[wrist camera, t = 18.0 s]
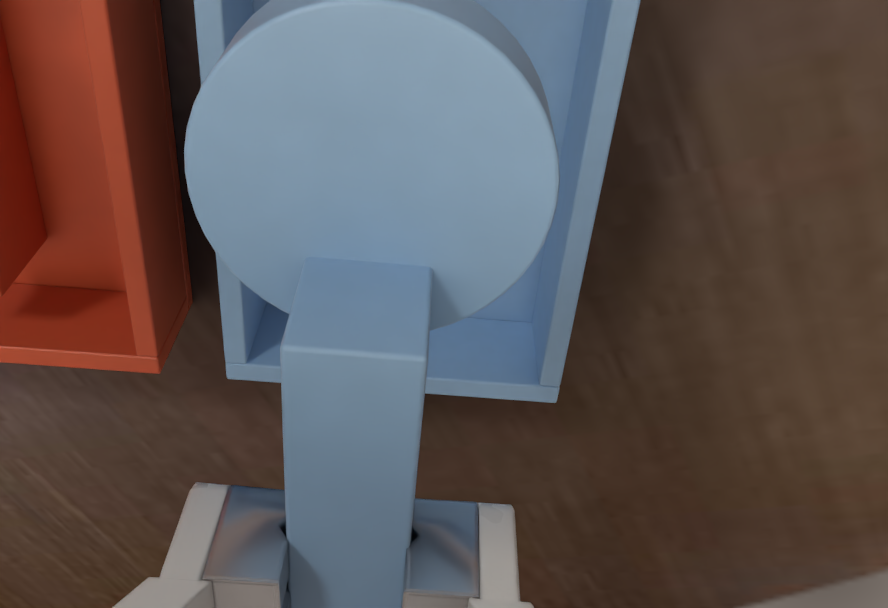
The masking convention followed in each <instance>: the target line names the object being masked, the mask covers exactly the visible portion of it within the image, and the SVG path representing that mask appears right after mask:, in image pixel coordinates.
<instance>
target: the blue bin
mask: <svg viewBox="0 0 888 608" xmlns="http://www.w3.org/2000/svg"><path fill="white" fill-rule="evenodd" d="M269 1H270V0H194V10H195V22H196V33H197V44H198V56H199V67H200V79H201V86H202V84H203V82H204V81H205V79H206V78H207V76H208V75H209V73H210V72H211V70H212V69H213V67H214V66H215V64H216V63H217V61H218V60H219V58H220V57H221V55H222V54H223V52H224V51H225V49H226V48H227V46H228V45H229V43H230V42H231V40H232V39H233V37H234V36H235V34H236V33H237V32H238V30H239V29H240V28H241V27H242V26H243V25H244V24H245V23H246V22H247V21H248V19H249V18H250V17H251V16H252V15H253V14H254V13H256V12H257V11H258V10H259V9H260V8H262V7H263V6H264V5H265V4H266V3H268V2H269ZM473 1H475V2H476V3H478V4H480V5H481V6H483V7H484V8H485V9H486V10H487V11H488V12H490V13H491V14H492V15H493V16H494V17H496V18H497V19H498V20H499V21H500V22H501V23H502V24H503V25H504V26H505V27H506V28H507V29H508V30H509V31H510V33H511V34H512V35H513V36H514V37H515V38H516V39H517V40H518V42H519V43H520V45H521V46H522V48H523V49H524V51H525V52H526V54H527V55H528V56H529V58H530V60H531V62H532V64H533V66H534V68H535V70H536V72H537V74H538V76H539V78H540V80H541V83H542V86H543V89H544V92H545V95H546V98H547V101H548V106H549V111H550V116H551V121H552V125H553V130H554V135H555V140H556V146H557V151H558V157H559V174H560V184H559V193H558V202H557V207H556V211H555V214H554V218H553V222H552V225H551V228H550V230H549V232H548V235H547V237H546V239H545V242H544V244H543V246H542V247H541V249H540V251H539V252H538V254H537V256H536V257H535V259H534V261H533V262H532V264H531V265H530V266H529V267H528V269H527V270H526V271H525V272H524V274H523V275H522V276H521V277H520V279H519V280H518V281H517V282H516V283H515V284H514V285H512V286H511V287H510V288H509V289H508V290H507V291H506V292H505V293H504V294H503V295H502V296H500V297H499V298H498V299H496V300H495V301H494V302H492V303H491V304H489V305H488V306H487V307H485V308H483V309H481V310H480V311H478V312H476V313H474V314H473V315H471V316H469V317H467V318H464V319H462V320H460V321H457V322H455V323H453V324H450V325H447V326H444V327H441V328H437V329H434V330H431V331H430V334H429V352H428V366H427V376H426V386H425V393H426V394H439V395H453V396H467V397H480V398H494V399H507V400H521V401H535V402H548V403H556V401H557V398H558V393H559V389H560V388H559V386H560V384H561V379H562V374H563V369H564V365H565V360H566V355H567V350H568V345H569V341H570V336H571V331H572V326H573V322H574V317H575V312H576V307H577V302H578V298H579V293H580V288H581V283H582V279H583V274H584V269H585V264H586V259H587V255H588V250H589V245H590V240H591V235H592V231H593V226H594V221H595V216H596V212H597V207H598V202H599V197H600V192H601V188H602V183H603V178H604V173H605V169H606V164H607V159H608V154H609V149H610V145H611V140H612V135H613V130H614V125H615V121H616V116H617V111H618V106H619V102H620V97H621V92H622V87H623V82H624V78H625V73H626V68H627V63H628V59H629V54H630V49H631V44H632V39H633V35H634V30H635V25H636V20H637V16H638V11H639V6H640V1H641V0H473ZM216 262H217V274H218V285H219V297H220V308H221V320H222V331H223V343H224V354H225V361H226V363H225V364H226V375H227V378H228V379H235V380H249V381H262V382H276V383H281V362H280V346H281V342H282V339H283V335H284V332H285V328H286V325H287V321H288V318H289V314H288V313H286V312H284V311H282V310H280V309H278V308H277V307H275V306H274V305H272V304H270V303H269V302H267V301H265V300H264V299H262V298H261V297H260V296H259V295H257V294H256V293H255V292H253V291H252V290H251V289H249V288H248V287H247V286H246V285H245V284H244V283H243V282H242V281H241V280H240V279H238V278H237V277H236V276H235V275H234V274H233V273H232V272H231V271H230V270H229V268H228V267H227V266H226V265H225V263H224V262H223V261H222V260H221V259H220V257H219V256H218V255H217V254H216Z"/></svg>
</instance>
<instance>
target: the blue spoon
mask: <svg viewBox="0 0 888 608" xmlns="http://www.w3.org/2000/svg"><path fill="white" fill-rule="evenodd" d="M184 162H185V176H186V181H187V187H188V193H189V196H190V199H191V203H192V206H193V209H194V212H195V215H196V217H197V220H198V222H199V224H200V226H201V228H202V230H203V232H204V234H205V236H206V238H207V239H208V241H209V243H210V244H211V246H212V247H213V249H214V250H215V252H216V254H217V255H218V256H219V257H220V259H221V260H222V261H223V262H224V263H225V265H226V266H227V267H228V268H229V270H230V271H231V272H232V273H233V274H234V275H235V276H236V277H237V278H238V279H240V280H241V281H242V282H243V283H244V284H245V285H246V286H247V287H248V288H249V289H251V290H252V291H253V292H255V293H256V294H257V295H259V296H260V297H261V298H262V299H264V300H265V301H267V302H269V303H270V304H272V305H274V306H275V307H277V308H278V309H280V310H282V311H284V312H286V313H288V314H289V318H288V321H287V325H286V328H285V332H284V335H283V339H282V342H281V346H280V362H281V392H282V421H283V451H284V481H285V511H286V539H287V540H288V553H289V572H290V573H289V578H288V589H289V591H290V599H291V608H401V601H402V592H403V577H404V567H405V556H406V549H407V548H409V546H410V541H411V531H412V520H413V510H414V500H415V490H416V479H417V469H418V459H419V448H420V438H421V428H422V417H423V407H424V397H425V386H426V376H427V366H428V352H429V334H430V331H431V330H434V329H437V328H441V327H444V326H447V325H450V324H453V323H455V322H457V321H460V320H462V319H464V318H467V317H469V316H471V315H473V314H474V313H476V312H478V311H480V310H481V309H483V308H485V307H487V306H488V305H489V304H491V303H492V302H494V301H495V300H496V299H498V298H499V297H500V296H502V295H503V294H504V293H505V292H506V291H507V290H508V289H509V288H510V287H511V286H512V285H514V284H515V283H516V282H517V281H518V280H519V279H520V277H521V276H522V275H523V274H524V272H525V271H526V270H527V269H528V267H529V266H530V265H531V264H532V262H533V261H534V259H535V257H536V256H537V254H538V252H539V251H540V249H541V247H542V246H543V244H544V242H545V239H546V237H547V235H548V232H549V230H550V228H551V225H552V222H553V218H554V214H555V211H556V207H557V202H558V193H559V184H560V174H559V157H558V151H557V146H556V140H555V135H554V130H553V125H552V121H551V116H550V111H549V106H548V101H547V98H546V95H545V92H544V89H543V86H542V83H541V80H540V78H539V76H538V74H537V72H536V70H535V68H534V66H533V64H532V62H531V60H530V58H529V56H528V55H527V54H526V52H525V51H524V49H523V48H522V46H521V45H520V43H519V42H518V40H517V39H516V38H515V37H514V36H513V35H512V34H511V33H510V31H509V30H508V29H507V28H506V27H505V26H504V25H503V24H502V23H501V22H500V21H499V20H498V19H497V18H496V17H494V16H493V15H492V14H491V13H490V12H488V11H487V10H486V9H485V8H484V7H483V6H481V5H480V4H478V3H476V2H475V1H473V0H270V1H269V2H268V3H266V4H265V5H264V6H263V7H262V8H260V9H259V10H258V11H257V12H256V13H254V14H253V15H252V16H251V17H250V18H249V19H248V21H247V22H246V23H245V24H244V25H243V26H242V27H241V28H240V29H239V30H238V32H237V33H236V34H235V36H234V37H233V39H232V40H231V42H230V43H229V45H228V46H227V48H226V49H225V51H224V52H223V54H222V55H221V57H220V58H219V60H218V61H217V63H216V64H215V66H214V67H213V69H212V70H211V72H210V73H209V75H208V76H207V78H206V79H205V81H204V82H203V84H202V86H201V88H200V91H199V93H198V95H197V97H196V99H195V101H194V104H193V107H192V110H191V114H190V117H189V121H188V124H187V130H186V138H185V146H184Z"/></svg>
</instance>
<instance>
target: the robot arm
mask: <svg viewBox="0 0 888 608" xmlns="http://www.w3.org/2000/svg"><path fill="white" fill-rule="evenodd" d="M289 573H290V572H289V553H288V540H287V539H286V511H285V490H279V489H268V488H258V487H247V486H237V485H222V484H210V483H199V482H196V483H195V484H194V486H193V487H192V488H191V490H190V491H189V494H188V497H187V500H186V503H185V505H184V508H183V511H182V514H181V517H180V520H179V523H178V525H177V528H176V531H175V534H174V537H173V540H172V543H171V545H170V548H169V551H168V554H167V557H166V560H165V563H164V565H163V568H162V571H161V574H160V577H148V578H147V579H146V580H145V581H143V582H142V583H141V584H140V585H139V586H137V587H136V588H135V589H134V590H133V591H131V592H130V593H129V594H128V595H127V596H125V597H124V598H123V599H122V600H121V601H119V602H118V603H117V604H116V605H115V606H114V607H112V608H291V599H290V591H289V589H288V578H289ZM401 608H534V606H533V605H532V604H531V603H530V602H521V601H520V589H519V573H518V558H517V542H516V527H515V511H514V509H513V507H512V505H506V504H492V503H478V504H477V503H476V502H468V501H450V500H433V499H416V498H415V500H414V510H413V520H412V531H411V541H410V546H409V548H407V549H406V556H405V567H404V577H403V592H402V601H401Z"/></svg>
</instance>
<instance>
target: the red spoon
mask: <svg viewBox="0 0 888 608" xmlns="http://www.w3.org/2000/svg"><path fill="white" fill-rule="evenodd" d="M46 240H47V234H46V229H45V224H44V220H43V215H42V210H41V205H40V201H39V196H38V191H37V187H36V182H35V177H34V172H33V168H32V163H31V158H30V154H29V149H28V144H27V140H26V135H25V130H24V125H23V121H22V116H21V111H20V107H19V102H18V97H17V92H16V88H15V83H14V78H13V74H12V69H11V64H10V59H9V55H8V50H7V45H6V41H5V36H4V31H3V26H2V22H1V17H0V297H2V296H3V295H4V294H5V292H6V291H7V290H8V289H9V287H10V286H11V285H12V283H13V282H14V281H15V280H16V278H17V277H18V276H19V274H20V273H21V272H22V271H23V269H24V268H25V267H26V265H27V264H28V263H29V262H30V260H31V259H32V258H33V256H34V255H35V254H36V253H37V251H38V250H39V249H40V248H41V246H42V245H43V244H44V242H45V241H46Z"/></svg>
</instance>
